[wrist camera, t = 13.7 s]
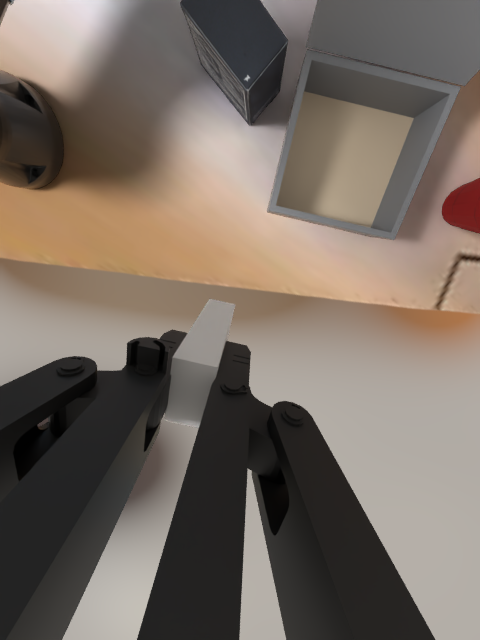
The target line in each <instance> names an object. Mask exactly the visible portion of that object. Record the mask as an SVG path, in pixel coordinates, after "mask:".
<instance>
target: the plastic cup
mask: <svg viewBox="0 0 480 640" xmlns="http://www.w3.org/2000/svg"><path fill="white" fill-rule="evenodd" d="M442 215H443V218H444V220H445V221H447V222H448V223H449V224H451V225H453V226H457V227H460V228H462V229H465V230H469V231H473V232H476V233H480V178H478V179H476V180H474V181H473V182H470V183H467V184H465V185H462V186H461V187H459V188H457V189H456V190H454V191H453V192H451V193H450V195H449V196H448V197H447V198H446V199H445V202H444V204H443V206H442Z"/></svg>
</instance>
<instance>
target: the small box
mask: <svg viewBox="0 0 480 640" xmlns="http://www.w3.org/2000/svg"><path fill="white" fill-rule="evenodd" d="M180 5H181V8H182V10H183V12H184V15H185V17H186V20H187V22H188V25H189V28H190V31H191V34H192V37H193V40H194V43H195V46H196V49H197V52H198V55H199V59H200V62H201V65H202V66H203V67H204V69H205V70H206V71H207V73H208V74H209V75H210V76H211V78H212V79H213V80H214V81H215V83H216V84H217V86H218V87H219V88H220V89H221V90H222V92H223V93H224V94H225V95H226V97H227V98H228V99H229V101H230V102H231V103H232V104H233V106H234V107H235V108H236V109H237V111H238V112H239V113H240V115H241V116H242V117H243V118H244V119H245V121H246V122H247V123H248V125H252V124H253V123H254V121H255V120H256V118H258V116H259V115H260V114H261V112H263V110H264V109H265V108H266V107H267V106H268V104H269V103H270V102H272V100H273V99H274V98H275V96H276V95H277V94H278V92H279V91H280V85H281V79H282V73H283V66H284V61H285V55H286V48H287V44H288V40H287V38H286V37H285V36H284V34H283V33H282V31H281V30H280V28H279V27H278V26H277V24H276V23H275V21H274V20H273V18H272V17H271V16H270V14H269V13H268V11H267V10H266V8H265V7H264V6H263V4H262V3H261V1H260V0H182V1H181V3H180Z"/></svg>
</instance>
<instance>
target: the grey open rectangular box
mask: <svg viewBox="0 0 480 640" xmlns="http://www.w3.org/2000/svg"><path fill="white" fill-rule="evenodd" d="M460 88H461V87H459V86H455V85H451V84H447V83H443V82H439V81H435V80H431V79H427V78H423V77H419V76H415V75H411V74H406V73H402V72H398V71H394V70H390V69H386V68H382V67H378V66H374V65H370V64H366V63H362V62H358V61H354V60H350V59H346V58H342V57H337V56H333V55H329V54H325V53H321V52H317V51H313V50H309V49H307V51H306V55H305V58H304V62H303V66H302V69H301V73H300V76H299V80H298V83H297V87H296V91H295V96H294V100H293V104H292V108H291V113H290V117H289V121H288V125H287V129H286V134H285V138H284V142H283V146H282V151H281V155H280V159H279V163H278V167H277V172H276V176H275V180H274V184H273V189H272V193H271V197H270V201H269V205H268V210H267V212H268V213H272V214H276V215H280V216H285V217H289V218H293V219H297V220H302V221H306V222H310V223H314V224H319V225H323V226H327V227H331V228H336V229H340V230H344V231H348V232H353V233H357V234H361V235H365V236H370V237H377V238H384V239H391V240H394V239H395V237H396V235H397V232H398V230H399V228H400V225H401V223H402V221H403V219H404V216H405V214H406V212H407V209H408V207H409V205H410V203H411V200H412V198H413V196H414V193H415V191H416V189H417V186H418V184H419V182H420V180H421V177H422V175H423V173H424V170H425V168H426V166H427V163H428V161H429V159H430V157H431V154H432V152H433V150H434V147H435V145H436V143H437V141H438V138H439V136H440V134H441V131H442V129H443V127H444V124H445V122H446V120H447V118H448V115H449V113H450V111H451V108H452V106H453V104H454V101H455V99H456V97H457V95H458V92H459V90H460Z"/></svg>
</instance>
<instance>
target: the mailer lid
mask: <svg viewBox="0 0 480 640" xmlns="http://www.w3.org/2000/svg"><path fill="white" fill-rule="evenodd" d="M306 47H308V48H313V49H317V50H321V51H325V52H329V53H333V54H337V55H341V56H345V57H349V58H353V59H357V60H361V61H365V62H369V63H373V64H377V65H381V66H386V67H390V68H394V69H398V70H402V71H406V72H410V73H414V74H418V75H422V76H426V77H430V78H434V79H438V80H442V81H446V82H450V83H455V84H459V85H463V86H465V85H466V84H467V83H468V82H469V81H470V80H471V78H472V77H473V76H474V75H475V74H476V73H477V72H478V71H479V70H480V0H318V1H317V5H316V9H315V12H314V16H313V20H312V24H311V28H310V32H309V36H308V40H307V44H306Z"/></svg>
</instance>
